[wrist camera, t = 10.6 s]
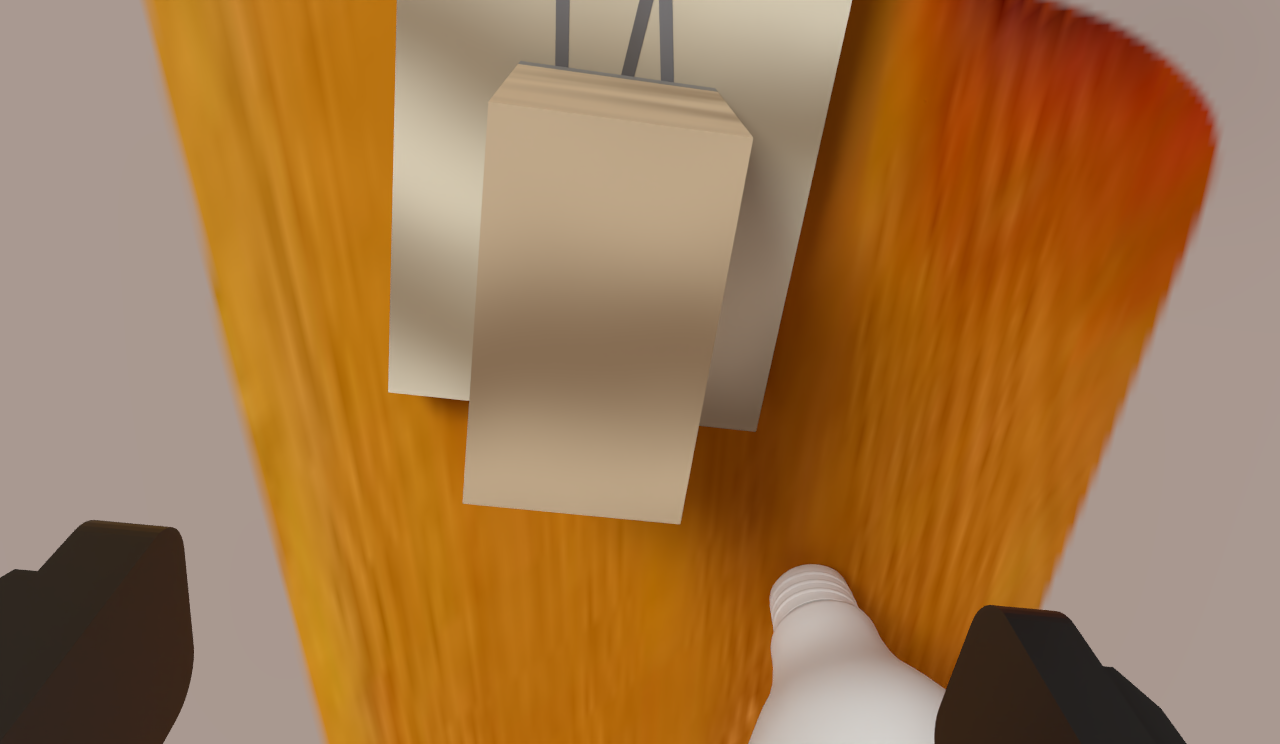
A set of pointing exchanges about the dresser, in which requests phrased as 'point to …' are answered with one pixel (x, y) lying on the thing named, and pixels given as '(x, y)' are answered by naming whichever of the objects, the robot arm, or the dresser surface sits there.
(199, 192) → the dresser surface
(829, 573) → the lightbulb
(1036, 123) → the dresser surface
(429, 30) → the board
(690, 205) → the block
